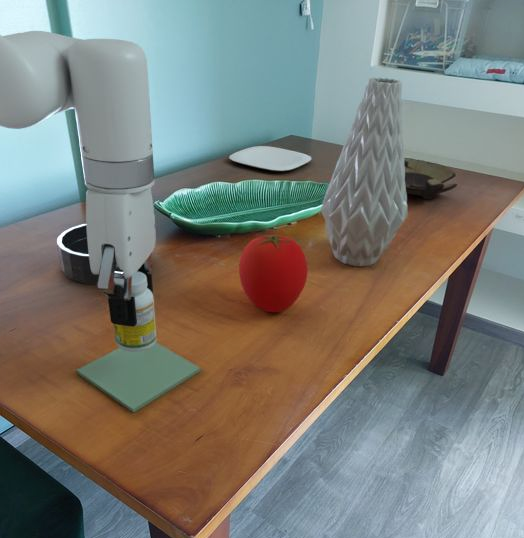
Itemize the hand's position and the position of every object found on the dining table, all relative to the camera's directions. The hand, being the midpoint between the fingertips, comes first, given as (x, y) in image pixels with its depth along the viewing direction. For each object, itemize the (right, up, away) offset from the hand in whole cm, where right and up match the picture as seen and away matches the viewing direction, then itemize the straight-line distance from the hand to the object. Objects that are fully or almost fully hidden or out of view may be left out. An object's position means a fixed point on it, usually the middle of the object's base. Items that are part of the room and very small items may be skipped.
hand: (133, 310), depth 69 cm
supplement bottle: (0, -4, +3) cm, 5 cm away
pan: (-13, +11, +32) cm, 36 cm away
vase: (+36, +14, +41) cm, 56 cm away
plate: (+19, +52, +93) cm, 108 cm away
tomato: (+18, +2, +22) cm, 29 cm away
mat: (0, -8, +6) cm, 10 cm away
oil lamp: (+57, +38, +77) cm, 103 cm away
